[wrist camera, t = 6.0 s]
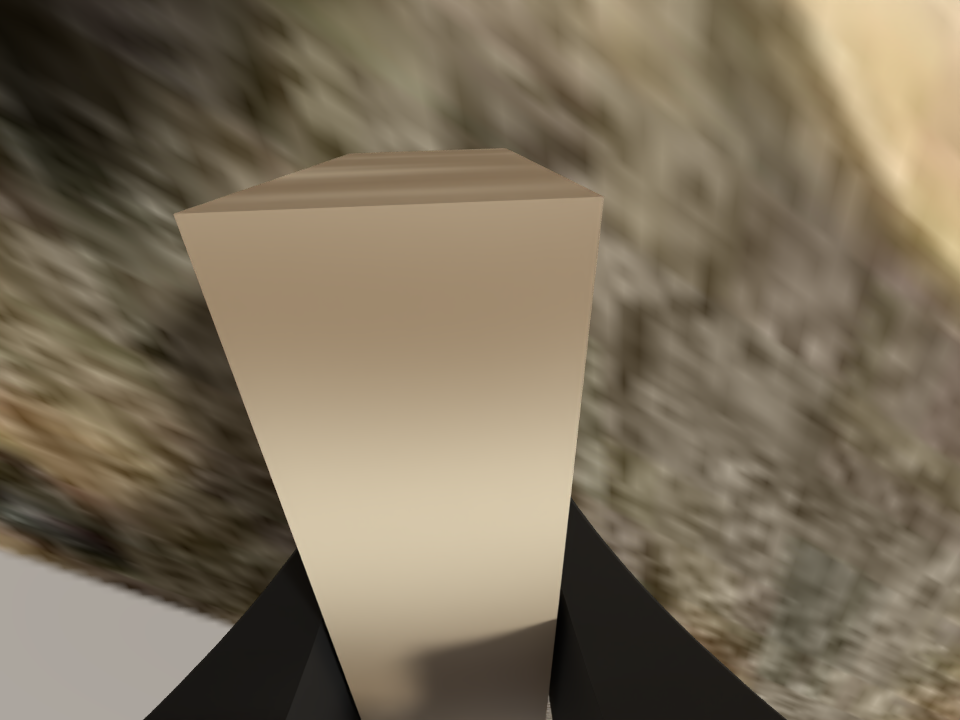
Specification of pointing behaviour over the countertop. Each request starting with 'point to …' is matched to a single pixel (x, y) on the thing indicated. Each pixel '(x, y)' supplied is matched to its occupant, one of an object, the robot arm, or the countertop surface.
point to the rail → (416, 406)
